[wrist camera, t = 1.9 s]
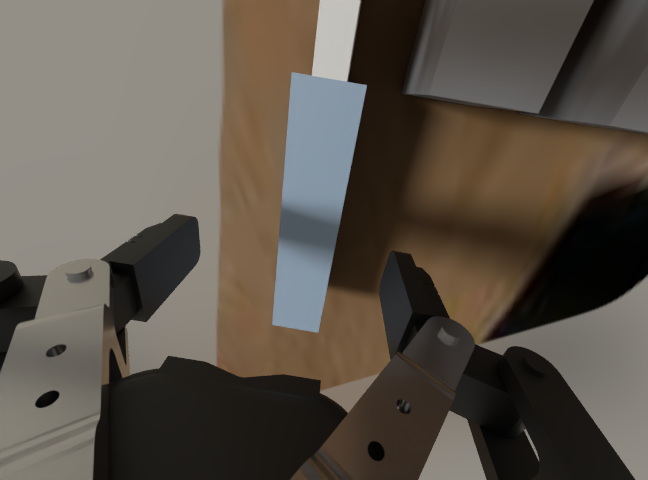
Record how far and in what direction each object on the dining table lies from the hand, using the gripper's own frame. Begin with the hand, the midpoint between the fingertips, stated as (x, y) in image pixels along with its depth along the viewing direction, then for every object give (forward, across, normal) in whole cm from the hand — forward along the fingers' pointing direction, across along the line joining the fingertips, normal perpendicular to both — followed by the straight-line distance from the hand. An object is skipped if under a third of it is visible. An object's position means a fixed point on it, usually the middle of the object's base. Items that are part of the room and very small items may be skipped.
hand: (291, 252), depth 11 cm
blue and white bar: (+8, 0, -2) cm, 8 cm away
